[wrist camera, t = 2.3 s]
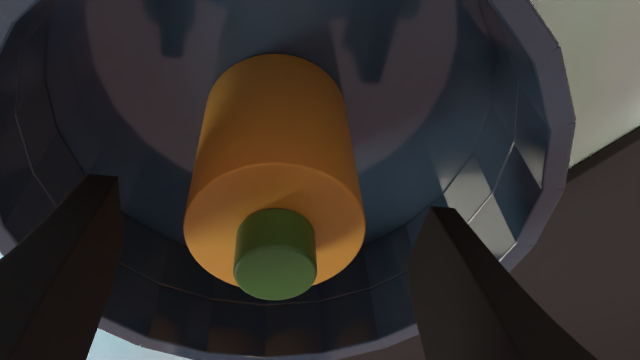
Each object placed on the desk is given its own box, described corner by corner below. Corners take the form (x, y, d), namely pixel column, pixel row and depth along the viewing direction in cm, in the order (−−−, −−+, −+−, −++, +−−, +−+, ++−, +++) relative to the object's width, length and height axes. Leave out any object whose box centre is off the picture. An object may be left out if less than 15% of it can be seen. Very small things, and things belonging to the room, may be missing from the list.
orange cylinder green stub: (277, 190, 18) (277, 353, 13) (177, 116, 16) (133, 278, 11) (373, 116, 16) (412, 272, 11) (274, 22, 14) (272, 166, 9)
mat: (421, 444, 32) (423, 453, 32) (251, 361, 25) (251, 371, 25) (773, 293, 24) (782, 301, 24) (667, 109, 17) (676, 117, 17)
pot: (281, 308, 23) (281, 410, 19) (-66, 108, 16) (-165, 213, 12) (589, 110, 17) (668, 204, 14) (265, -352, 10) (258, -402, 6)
